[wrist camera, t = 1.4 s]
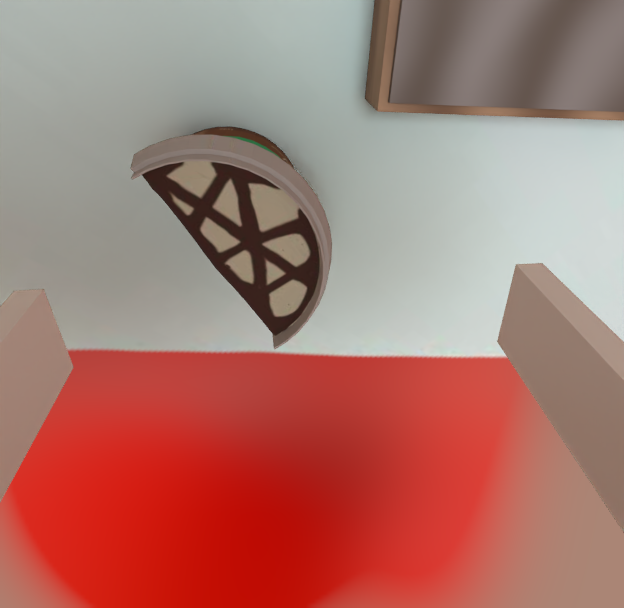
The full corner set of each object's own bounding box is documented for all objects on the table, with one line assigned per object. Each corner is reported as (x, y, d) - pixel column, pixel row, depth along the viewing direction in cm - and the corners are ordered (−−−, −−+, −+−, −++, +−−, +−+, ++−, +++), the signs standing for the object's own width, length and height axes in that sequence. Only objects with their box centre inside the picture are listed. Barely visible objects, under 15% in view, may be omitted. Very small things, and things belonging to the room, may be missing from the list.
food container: (351, 227, 33) (378, 304, 25) (277, 269, 34) (280, 355, 26) (250, 59, 27) (241, 85, 19) (166, 118, 28) (121, 167, 20)
